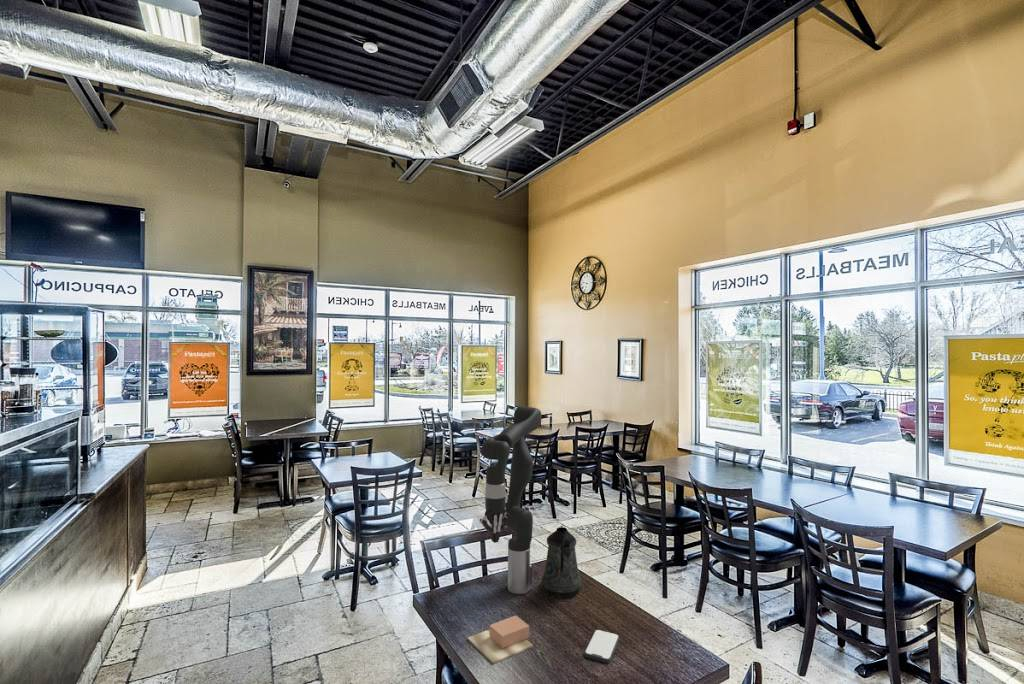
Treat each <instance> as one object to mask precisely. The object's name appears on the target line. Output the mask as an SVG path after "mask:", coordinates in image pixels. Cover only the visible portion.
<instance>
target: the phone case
mask: <svg viewBox="0 0 1024 684" xmlns="http://www.w3.org/2000/svg"><path fill="white" fill-rule="evenodd" d="M619 641H620V635H619V634H617V633H612V632H609V631H605V630H601V629H596V630H595V629H594V632H593V634H592V636H591V637H590V640H589V642H588V643H587V645H586V648H585V649H584V652H583V655H584V657H585V658H587V659H590V660H593V661H597V662H601V663H605V664H610V663H611V662H612V659H613V656H614V655H615V651H616V649H617V646H618V644H619Z"/></svg>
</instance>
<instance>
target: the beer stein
mask: <svg viewBox="0 0 1024 684" xmlns="http://www.w3.org/2000/svg"><path fill="white" fill-rule="evenodd" d="M546 544H547V545H548V546H547V547H548V548H547V554H546V560H545V568H544V571H543V575H542V576H541V585H542V589H543V591H544V593H546V594H547V595H548V596H552V597H554V598H559V599H567V598H572V597H576V596H577V595H579V594H580V593H581V587H582V578H581V575H580V572H579V568H578V567H579V566H578V562H577V554H576V545H577V538H576V537H575V536H574V535H573V534H572V533H571V532H569V530H568V529H567V527H563V526H561V527H560V526H559V527H556V530H555V531H554V532H552V533H550V534H549V535H548V537H546Z"/></svg>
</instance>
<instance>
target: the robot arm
mask: <svg viewBox="0 0 1024 684" xmlns="http://www.w3.org/2000/svg"><path fill="white" fill-rule="evenodd" d="M542 415H543V414H542V411H541V410H540V409H539V408H537V407H534V406H532V407H531V406H517V407H516V409H514V414H513V424H511V425H508V426H507V427H505V428H504V429H502V431H501V432H500V433H499V434H496V435H493V436H492V437H491V436H490V437H489V438H487V439H486V440H485V441H484V442H483V443H482V445H481V447H480V451H481V453H480V454H481V455H482V457H483V458H485V459H486V460H494V461H497V463H496V464H495V465H494V464H493V465H489V466H488V467H486V470H485V486H484V487H485V489H484V490H485V491H484V492H485V495H484V497H485V498H484V500H485V501H484V502H485V503H484V507H485V512H484V516H483V517H482V518H479V523H480V524H481V525H482V526H483V528H484V529H485V530H486V531H488V532H489V533H490V539H491V542H492V543H494V544H495V543H499V541H500V532H501V530H504V529H505V528H507V529H509V530H513V531H515V532H516V535H515V536H513V537H511V538H509V539H508V542H507V546H508V547H507V590H508V591H509V592H510V593H511V594H515V595H522V594H526V593H529V591H530V590H531V589H533V566H532V565H531V543H532V540H533V539H532V538H533V528H534V527H533V525H534V518H533V514H532V512H531V510H529V509H526V508H523V507H521V506H520V505H521V498H522V494H523V492H524V491H525V489H526V487H527V486H528V484H530V481H531V479H532V475H533V470H534V469H533V467H534V459H533V457H532V454H531V451H530V449H529V448H528V445H527V442H526V441H525V437H526V436H527V435H529V434H531V433H533V432H534V431H536V430H537V429H538V428H539V427H541V423H542V420H543V419H542ZM511 449H512V451H511ZM511 452H512V455H511V464H510V475H509V476H510V477H509V484H508V485H509V487H508V493H506V492H507V491H506V490H507V489H506V470H507V464H508V461H509V457H510V453H511ZM506 494H507V496H506ZM506 497H507V498H506Z"/></svg>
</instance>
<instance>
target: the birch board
mask: <svg viewBox="0 0 1024 684" xmlns="http://www.w3.org/2000/svg"><path fill="white" fill-rule="evenodd" d="M467 640H468V641H469V642H470V643H471V644H472V645H473V646H474V647H475V648H476V649H477V650H478V651H479V652H480V653H481V654H482V655H483V656H484V657H485V658H486V659H487V660H488V661H489V662H490V663H491V664H492V665H494V664H497V663H500V662H501V661H503V660H507V659H508V658H510V657H514V656H515V655H518V654H520V653H523V652H525V651H527V650H529V649H531V648H534V645H533V643H532V642H530V641H529V640H528V639H525V640H522V641H520V642H517V643H515V644H513V645H510V646H508V647H505V648H503V649H502V648H501V647H500V646H499V645H498V644H497V643H496V642H495V641H494V640H493V639H491V638H490V628H489V629H487V630H484V631H482V632H479V633H476V634H474V635H471V636H468V637H467Z"/></svg>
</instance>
